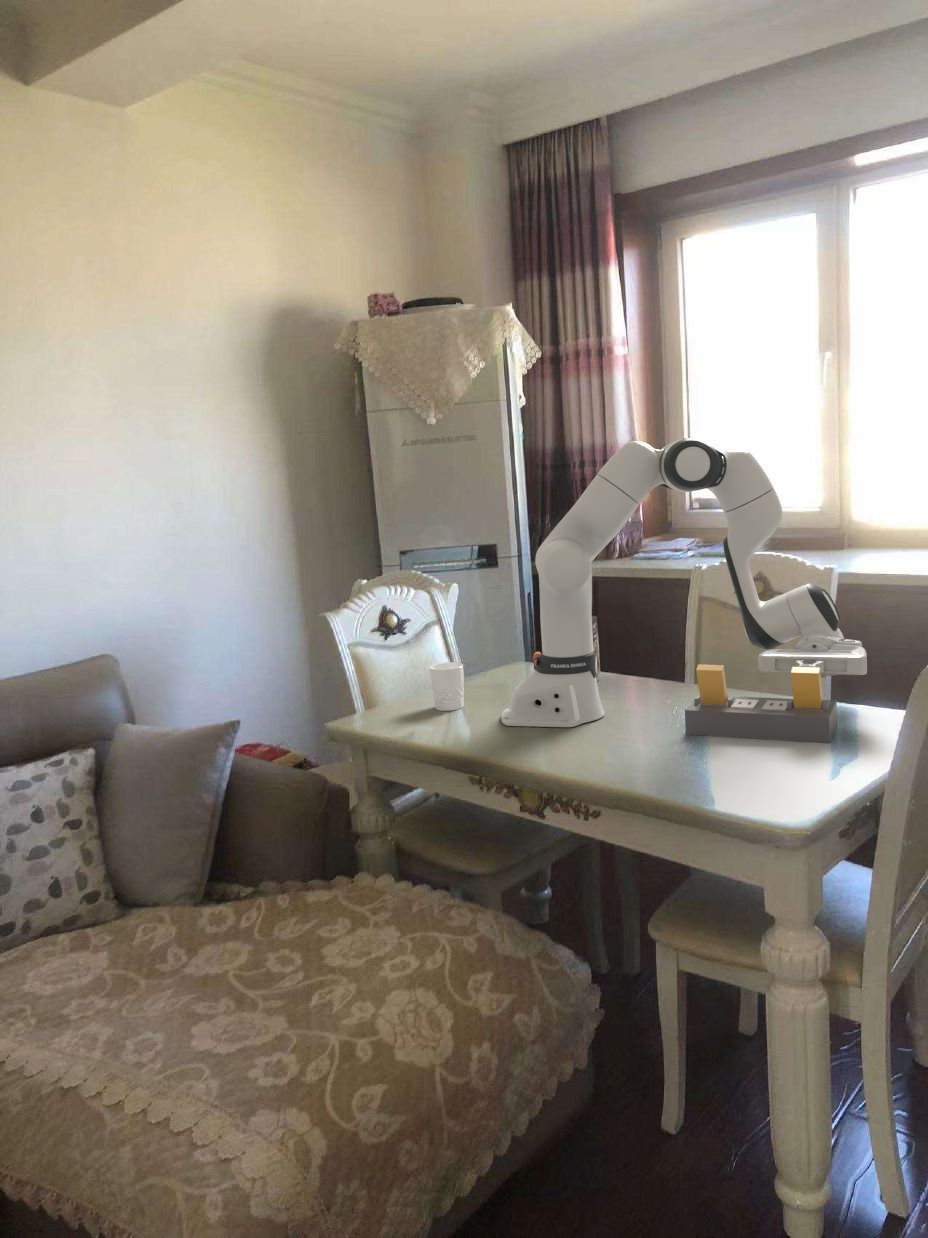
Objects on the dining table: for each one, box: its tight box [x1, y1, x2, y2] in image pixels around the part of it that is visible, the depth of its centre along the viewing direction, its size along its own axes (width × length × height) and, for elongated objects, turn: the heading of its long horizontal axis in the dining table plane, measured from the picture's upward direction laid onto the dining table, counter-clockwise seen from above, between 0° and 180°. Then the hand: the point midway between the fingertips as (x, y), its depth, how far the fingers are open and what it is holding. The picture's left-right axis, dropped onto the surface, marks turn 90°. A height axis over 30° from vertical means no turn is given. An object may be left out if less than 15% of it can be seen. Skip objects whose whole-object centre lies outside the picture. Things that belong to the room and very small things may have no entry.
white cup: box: [429, 661, 465, 712], centre depth 232 cm, size 8×8×10 cm
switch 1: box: [695, 664, 729, 704], centre depth 198 cm, size 5×2×8 cm, turn 63°
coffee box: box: [592, 615, 601, 682], centre depth 245 cm, size 9×6×16 cm
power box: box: [684, 694, 838, 744], centre depth 196 cm, size 27×12×6 cm, turn 63°
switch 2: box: [790, 667, 823, 709], centre depth 190 cm, size 5×2×8 cm, turn 63°
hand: (807, 670), depth 189 cm, fingers closed, pressing on switch 2
